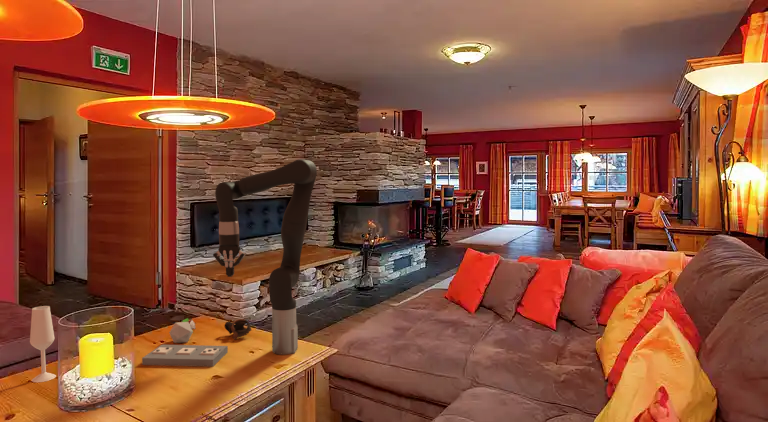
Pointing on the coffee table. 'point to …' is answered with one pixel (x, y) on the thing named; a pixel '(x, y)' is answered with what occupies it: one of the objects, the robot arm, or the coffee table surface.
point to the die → (181, 332)
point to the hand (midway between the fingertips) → (230, 276)
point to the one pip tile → (186, 351)
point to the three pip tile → (210, 351)
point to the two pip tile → (163, 350)
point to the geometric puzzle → (190, 323)
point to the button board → (185, 356)
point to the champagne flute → (42, 337)
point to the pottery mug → (238, 328)
